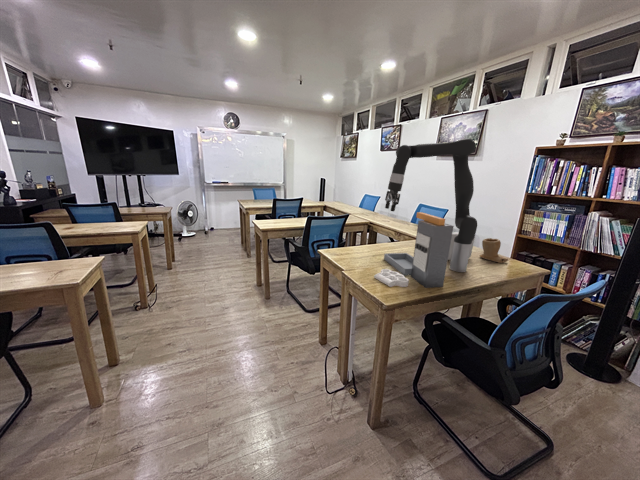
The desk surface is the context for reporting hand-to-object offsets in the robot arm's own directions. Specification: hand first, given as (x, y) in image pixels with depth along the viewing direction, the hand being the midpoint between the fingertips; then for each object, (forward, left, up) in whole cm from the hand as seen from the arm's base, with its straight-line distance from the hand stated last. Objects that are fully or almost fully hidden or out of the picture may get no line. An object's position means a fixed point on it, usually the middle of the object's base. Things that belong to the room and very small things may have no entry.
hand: (389, 209), depth 148 cm
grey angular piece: (-48, +20, -35) cm, 63 cm away
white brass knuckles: (+16, +17, -35) cm, 42 cm away
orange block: (0, +25, -3) cm, 25 cm away
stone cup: (-68, +39, -35) cm, 86 cm away
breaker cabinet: (+3, +29, -35) cm, 45 cm away
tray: (-9, +10, -35) cm, 37 cm away
